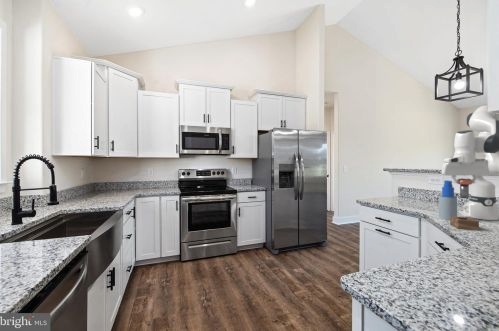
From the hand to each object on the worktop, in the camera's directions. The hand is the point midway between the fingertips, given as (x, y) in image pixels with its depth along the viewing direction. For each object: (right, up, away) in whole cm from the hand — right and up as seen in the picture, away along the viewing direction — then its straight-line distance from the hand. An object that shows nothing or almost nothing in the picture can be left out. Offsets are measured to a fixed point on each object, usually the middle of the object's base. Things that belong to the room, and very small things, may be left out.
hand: (464, 183), depth 128 cm
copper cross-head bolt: (0, -8, 0) cm, 8 cm away
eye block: (0, -25, +1) cm, 25 cm away
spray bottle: (+8, -25, +19) cm, 32 cm away
